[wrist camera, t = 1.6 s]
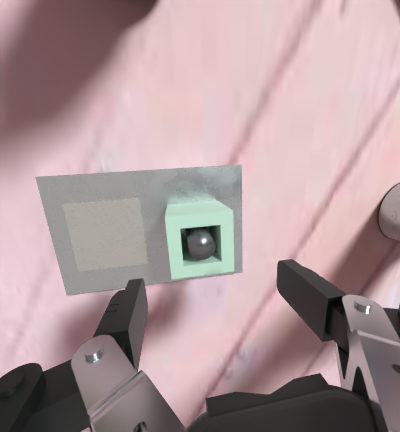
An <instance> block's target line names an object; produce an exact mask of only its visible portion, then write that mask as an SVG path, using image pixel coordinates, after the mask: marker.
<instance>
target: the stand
mask: <svg viewBox="0 0 400 432" xmlns="http://www.w3.org/2000/svg"><path fill="white" fill-rule="evenodd" d="M36 181H37V185H38V188H39V192H40V196H41V200H42V203H43V207H44V211H45V215H46V218H47V222H48V226H49V230H50V234H51V237H52V241H53V245H54V249H55V252H56V256H57V260H58V264H59V268H60V271H61V275H62V279H63V283H64V286H65V290H66V294H67V295H74V294H81V293H89V292H97V291H104V290H112V289H119V288H126V286H127V284H128V281H129V280H131V279H139V278H143V279H144V282H145V285H150V284H158V283H165V282H173V281H181V280H188V279H196V278H203V277H211V276H219V275H226V274H234V273H242V165H227V166H210V167H194V168H177V169H160V170H144V171H127V172H110V173H94V174H77V175H60V176H44V177H36ZM207 201H219V202H221V203H222V204H224V205H225V206H227V207H229V208H230V209H232V210H233V227H234V272H226V273H218V274H210V275H203V276H195V277H187V278H179V279H171V270H170V260H169V251H168V242H167V233H166V224H165V213H166V208H167V205H171V204H183V203H195V202H207ZM180 233H181V242H188V247H189V252H190V254H191V255H192V257H194V258H195V259H198V260H205V259H208V258H210V257H211V256H212V255H213V254H214V252H215V248H216V245H215V241H214V240H213V238H212V236H211V235H210V232H209V226H203V227H193V228H183V229H180Z"/></svg>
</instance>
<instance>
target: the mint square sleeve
mask: <svg viewBox="0 0 400 432" xmlns="http://www.w3.org/2000/svg"><path fill="white" fill-rule="evenodd" d="M165 224H166V233H167V242H168V251H169V260H170V270H171V279H179V278H187V277H195V276H203V275H210V274H218V273H226V272H234V227H233V210H232V209H230V208H229V207H227V206H225V205H224V204H222V203H221V202H219V201H207V202H195V203H183V204H171V205H167V208H166V213H165ZM203 226H209V232H210V235H211V236H212V238H213V240H214V241H215V245H216V248H215V252H214V254H213V255H212V256H211V257H210V258H208V259H205V260H198V259H195V258H194V257H192V255H191V254H190V252H189V247H188V242H181V233H180V229H183V228H193V227H203Z"/></svg>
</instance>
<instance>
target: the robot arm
mask: <svg viewBox="0 0 400 432" xmlns="http://www.w3.org/2000/svg"><path fill="white" fill-rule="evenodd" d="M379 226H380V228H381V230H382V232H383V233H384V234H385V235H386V236H387V237H390V238H392V239H395V240H399V241H400V183H399V184H398V185H396V186H395V187H394V188H393V189H392V190H391V191H390V192H389V193H388V194H387V195H386V197H385V199H384V200H383V202H382V205H381V207H380V211H379ZM277 288H278V291H279V293H280V294H281V296H282V297H283V298H284V299H285V300H286V301H287V302H288V303H289V305H290V306H291V307H292V308H293V309H294V310H295V311H296V312H297V314H298V315H299V316H300V317H301V318H302V319H303V320H304V321H305V323H306V324H307V325H308V326H309V327H310V328H311V329H312V330H313V332H314V333H315V334H316V335H317V336H318V337H319V338H320V339H321V341H322V342H324V341H329V340H334V341H335V342H336V345H335V351H336V358H337V364H338V370H339V376H340V382H341V387H337V386H333V385H328V383H327V382H326V381H325V379H324V378H323V377H322V375H321V374H320V373H319V374H315V375H310V376H305V377H301V378H296V379H293V380H292V381H290V382H289V383H287V384H286V385H284V386H282V387H281V388H279V389H278V390H276V391H275V392H273V393H272V394H269V395H265V394H254V393H243V392H233V393H229V394H224V395H220V396H215V397H210V398H206V407H207V411H206V412H205V413H203V414H202V415H200V416H199V417H198V418H197V419H196V420H194V421H193V422H192V423H191V425H190V426H189V427H188V428H187V429H185V427H184V426H183V424H182V423H181V422H180V420H179V419H178V417H177V416H176V415H175V413H174V412H173V411H172V409H171V408H170V406H169V405H168V404H167V402H166V401H165V399H164V398H163V397H162V395H161V394H160V393H159V391H158V390H157V388H156V387H155V386H154V384H153V383H152V381H151V380H150V379H149V377H148V376H147V375H146V373H145V372H144V371H142V370H141V371H139V372H138V367H139V361H140V355H141V349H142V343H143V337H144V331H145V325H146V319H147V313H148V304H147V296H146V289H145V282H144V279H143V278H139V279H131V280H129V281H128V284H127V286H126V289H125V290H120V291H118V292H117V293H116V294H115V295H114V296H113V297H112V298H111V300H110V302H109V305H108V307H107V309H106V311H105V313H104V315H103V317H102V319H101V321H100V324H99V326H98V328H97V330H96V332H95V334H94V336H93V338H91V339H90V340H88V341H86V342H85V343H84V344H82V345H81V346H80V347H79V348H78V349H77V351H76V352H75V353H74V355H73V357H72V359H71V360H69V361H67V362H65V363H63V364H60V365H58V366H56V367H53V368H51V369H49V370H46V371H44V372H43V370H42V367H41V366H40V365H39V364H37V363H29V364H25V365H22V366H19V367H17V368H15V369H13V370H12V371H10V372H8V373H7V374H5V375H4V376H2V377H1V378H0V432H81V431H82V430H84V429H86V428H87V427H89V429H90V432H400V305H399V309H391V308H382V307H381V306H380V305H379V304H377V303H376V302H374V301H372V300H370V299H368V298H366V297H362V296H359V295H346V294H345V293H344V292H342V291H341V290H339V289H338V288H336V287H335V286H334V285H332V284H331V283H329V282H328V281H325V279H324V278H322V277H321V276H319V275H318V274H316V273H315V272H314V271H312V270H310V269H308V268H305V267H303V266H301V265H300V264H298V263H297V262H296V261H294V260H292V259H289V260H281V261H279V262H278V267H277Z"/></svg>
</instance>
